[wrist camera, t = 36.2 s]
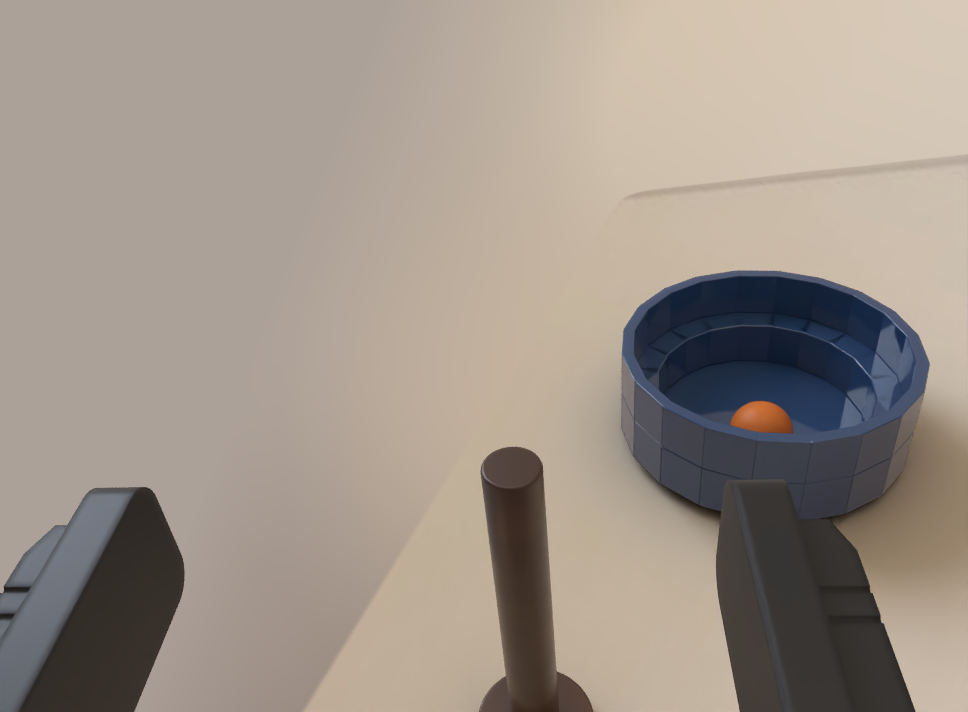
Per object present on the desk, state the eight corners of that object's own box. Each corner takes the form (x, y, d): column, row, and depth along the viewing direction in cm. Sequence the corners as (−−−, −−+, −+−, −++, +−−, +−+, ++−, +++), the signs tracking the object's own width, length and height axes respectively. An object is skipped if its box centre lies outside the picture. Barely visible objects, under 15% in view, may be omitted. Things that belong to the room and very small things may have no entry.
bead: (734, 393, 42) (730, 401, 45) (728, 455, 41) (724, 459, 44) (800, 400, 41) (791, 408, 44) (794, 464, 41) (786, 467, 43)
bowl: (739, 575, 38) (751, 486, 35) (572, 403, 49) (569, 322, 46) (970, 459, 43) (999, 370, 39) (771, 324, 53) (781, 245, 50)
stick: (515, 813, 31) (479, 547, 23) (460, 715, 34) (411, 451, 26) (617, 752, 32) (619, 482, 24) (555, 664, 36) (538, 399, 27)
